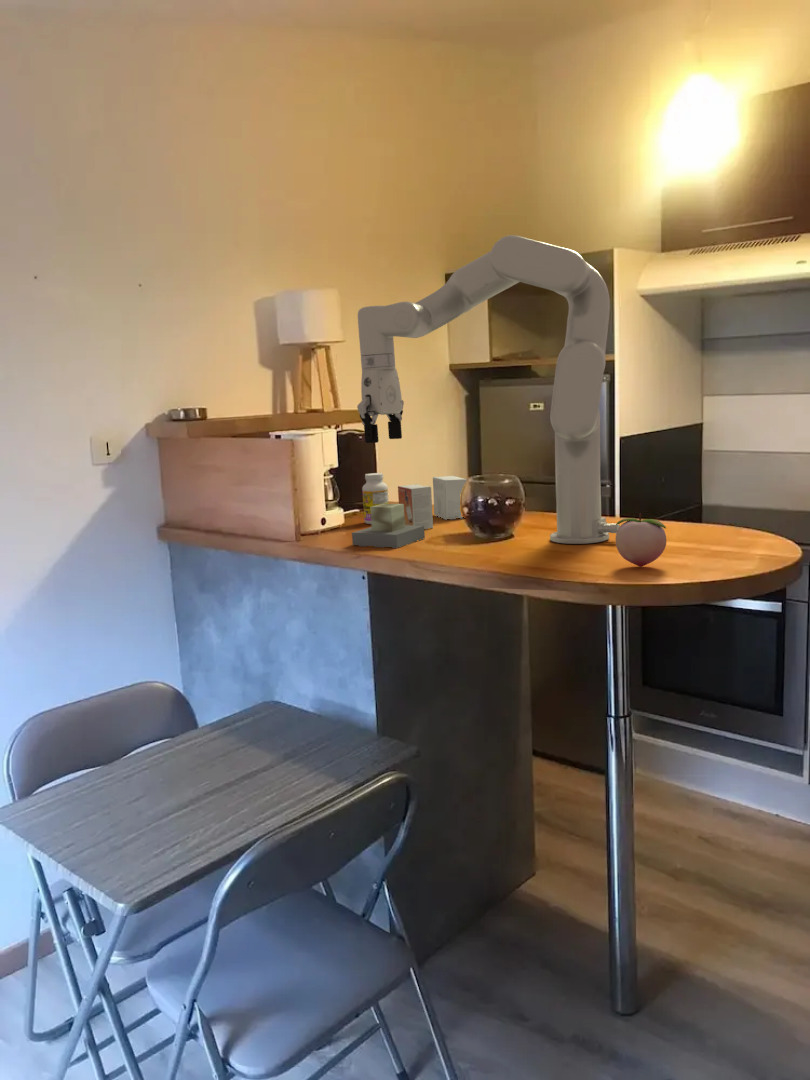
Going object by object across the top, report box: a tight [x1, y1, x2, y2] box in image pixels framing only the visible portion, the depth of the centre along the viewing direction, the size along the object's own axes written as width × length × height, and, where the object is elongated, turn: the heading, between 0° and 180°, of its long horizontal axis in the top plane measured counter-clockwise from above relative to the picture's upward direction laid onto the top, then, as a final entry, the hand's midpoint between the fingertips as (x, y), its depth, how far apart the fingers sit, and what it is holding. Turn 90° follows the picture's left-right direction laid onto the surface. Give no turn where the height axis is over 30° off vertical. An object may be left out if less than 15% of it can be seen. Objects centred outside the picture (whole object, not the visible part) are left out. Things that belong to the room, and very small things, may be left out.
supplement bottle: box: [361, 472, 390, 525], centre depth 239 cm, size 7×7×13 cm
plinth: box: [351, 525, 426, 549], centre depth 210 cm, size 12×12×3 cm
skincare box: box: [432, 475, 468, 521], centre depth 242 cm, size 10×6×10 cm, turn 16°
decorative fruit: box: [615, 513, 668, 568], centre depth 168 cm, size 9×8×10 cm
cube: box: [371, 503, 405, 532], centre depth 209 cm, size 6×6×6 cm
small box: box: [397, 483, 434, 530], centre depth 227 cm, size 8×6×10 cm
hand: (384, 440), depth 206 cm, fingers open, 9 cm apart
